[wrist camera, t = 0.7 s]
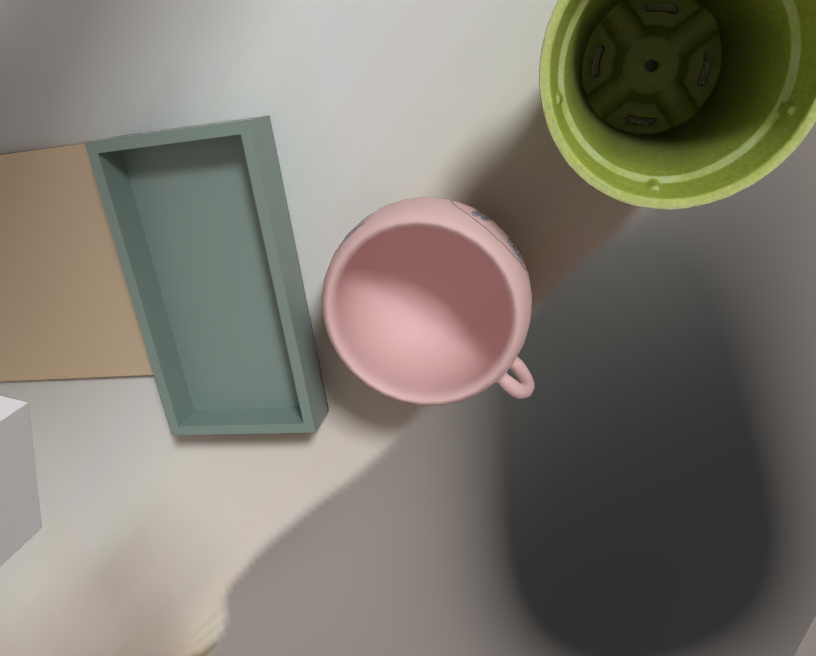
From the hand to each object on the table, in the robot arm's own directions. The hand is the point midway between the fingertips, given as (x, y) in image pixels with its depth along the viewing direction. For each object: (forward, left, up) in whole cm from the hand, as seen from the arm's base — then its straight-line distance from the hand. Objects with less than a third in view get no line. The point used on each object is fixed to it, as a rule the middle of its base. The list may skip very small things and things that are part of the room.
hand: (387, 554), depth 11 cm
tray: (+2, -16, -25) cm, 30 cm away
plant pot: (-6, +7, -25) cm, 27 cm away
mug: (+4, -3, -25) cm, 26 cm away
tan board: (+1, -30, -25) cm, 39 cm away
